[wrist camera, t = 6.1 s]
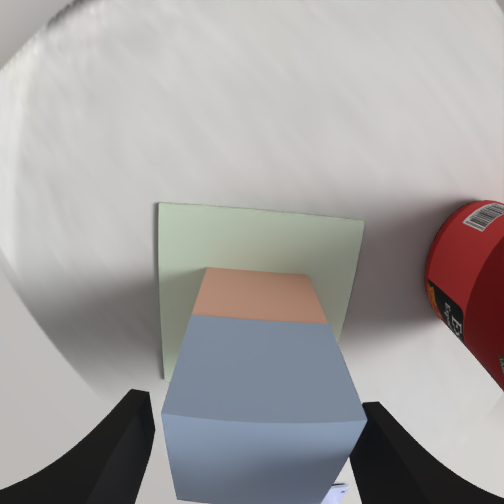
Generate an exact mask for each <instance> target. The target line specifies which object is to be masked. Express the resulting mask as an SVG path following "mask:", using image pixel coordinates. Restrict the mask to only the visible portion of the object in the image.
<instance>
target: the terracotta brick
mask: <svg viewBox="0 0 504 504" xmlns="http://www.w3.org/2000/svg"><path fill="white" fill-rule="evenodd" d="M192 315H202V316H212V317H224V318H236V319H249V320H263V321H279V322H297V323H320V324H328V322H327V319H326V317H325V314H324V312H323V309H322V307H321V305H320V302H319V300H318V298H317V295H316V293H315V291H314V288H313V286H312V283H311V281H310V279H309V276H308V275H302V274H288V273H275V272H262V271H250V270H238V269H226V268H214V267H207V269H206V272H205V275H204V278H203V281H202V284H201V287H200V291H199V294H198V297H197V300H196V303H195V306H194V309H193V312H192Z"/></svg>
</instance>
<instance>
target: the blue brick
mask: <svg viewBox="0 0 504 504" xmlns="http://www.w3.org/2000/svg"><path fill="white" fill-rule="evenodd" d="M161 416H162V422H163V429H164V435H165V441H166V447H167V452H168V458H169V463H170V468H171V473H172V478H173V482H174V488H175V492H176V496H177V500H184V501H193V502H201V503H210V504H321V503H322V501H323V499H324V498H325V496H326V495H327V493H328V491H329V490H330V488H331V487H332V485H333V483H334V482H335V480H336V478H337V477H338V475H339V473H340V471H341V470H342V468H343V466H344V464H345V463H346V461H347V459H348V457H349V455H350V453H351V452H352V450H353V448H354V446H355V444H356V442H357V440H358V438H359V436H360V434H361V432H362V430H363V428H364V426H365V424H366V422H367V417H366V415H365V412H364V409H363V407H362V404H361V401H360V399H359V396H358V394H357V391H356V389H355V386H354V383H353V381H352V378H351V376H350V373H349V371H348V368H347V366H346V363H345V361H344V358H343V356H342V353H341V351H340V348H339V346H338V343H337V341H336V339H335V336H334V334H333V331H332V329H331V326H330V324H320V323H297V322H279V321H263V320H249V319H236V318H224V317H212V316H202V315H192V314H191V317H190V320H189V323H188V326H187V329H186V332H185V336H184V339H183V342H182V345H181V348H180V352H179V355H178V358H177V361H176V365H175V368H174V371H173V374H172V378H171V381H170V384H169V388H168V391H167V395H166V398H165V401H164V405H163V408H162V412H161Z"/></svg>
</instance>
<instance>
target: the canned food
mask: <svg viewBox="0 0 504 504" xmlns="http://www.w3.org/2000/svg"><path fill="white" fill-rule="evenodd" d="M425 287H426V292H427V295H428V298H429V301H430V303H431V306H432V308H433V310H434V311H435V313H436V314H437V316H438V317H439V318H440V319H441V320H442V321H443V322H444V323H445V324H446V325H447V326H448V327H449V329H450V330H451V331H452V332H453V333H454V334H455V335H456V336H457V337H458V338H459V340H460V341H461V342H462V343H463V344H464V345H465V346H466V347H467V348H468V350H469V351H470V352H471V353H472V354H473V355H474V356H475V358H476V359H477V360H478V361H479V362H480V363H481V365H482V366H483V367H484V368H485V369H486V371H487V372H488V373H489V374H490V375H491V377H492V378H493V379H494V380H495V381H496V383H497V384H498V385H499V386H500V388H501V389H502V390H503V391H504V204H503V203H500V202H496V201H490V200H485V201H478V202H473V203H469V204H467V205H465V206H463V207H461V208H460V209H458V210H457V211H456V212H455V213H453V214H452V215H451V216H450V217H449V218H448V220H447V221H446V222H445V223H444V224H443V226H442V227H441V229H440V230H439V232H438V233H437V235H436V237H435V239H434V241H433V243H432V245H431V248H430V251H429V254H428V257H427V262H426V267H425Z"/></svg>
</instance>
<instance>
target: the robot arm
mask: <svg viewBox="0 0 504 504" xmlns="http://www.w3.org/2000/svg"><path fill="white" fill-rule="evenodd" d="M362 407H363V409H364V412H365V415H366V417H367V422H366V424H365V426H364V428H363V430H362V432H361V434H360V436H359V438H358V440H357V442H356V444H355V446H354V448H353V450H352V452H351V453H350V455H349V457H350V463H351V466H352V470H353V473H354V477H355V480H356V484H357V487H358V491H359V494H360V498H361V501H362V504H504V498H502V497H499V496H497V495H494V494H492V493H489V492H487V491H485V490H483V489H481V488H479V487H477V486H475V485H473V484H472V483H470V482H468V481H466V480H464V479H463V478H461V477H460V476H458V475H457V474H455V473H454V472H453V471H451V470H450V469H448V468H447V467H446V466H444V465H443V464H442V463H440V462H439V461H438V460H437V459H436V458H434V457H433V456H432V455H431V454H430V453H429V452H428V451H426V450H425V449H424V448H423V447H422V446H421V445H420V444H419V443H418V442H417V441H416V440H415V439H414V438H413V437H412V436H411V435H410V434H409V433H408V432H407V431H406V430H405V429H404V428H403V427H402V426H401V425H400V424H399V423H398V422H397V421H396V419H395V418H394V417H393V416H392V415H391V414H390V413H389V412H388V411H387V410H386V409H385V408H384V407H383V406H382V405H381V404H380V402H379V401H378V402H365V403H363V404H362ZM154 434H155V425H154V419H153V413H152V407H151V401H150V395H149V392H146V391H141V390H135V389H131V390H130V391H129V392H128V393H127V394H126V395H125V396H124V397H123V399H122V400H121V401H120V402H119V403H118V404H117V405H116V406H115V408H114V409H113V410H112V411H111V412H110V413H109V414H108V415H107V416H106V417H105V418H104V419H103V420H102V421H101V422H100V423H99V424H98V425H97V426H96V427H95V428H94V429H93V430H92V431H91V432H90V433H89V434H88V435H87V436H86V437H85V438H83V439H82V440H81V441H80V442H79V443H78V444H77V445H76V446H74V447H73V448H72V449H71V450H69V451H68V452H67V453H66V454H64V455H63V456H62V457H60V458H59V459H58V460H56V461H55V462H53V463H52V464H50V465H49V466H47V467H45V468H44V469H42V470H41V471H39V472H37V473H36V474H34V475H32V476H30V477H28V478H27V479H24V480H22V481H20V482H18V483H16V484H13V485H11V486H9V487H7V488H4V489H1V490H0V504H135V501H136V498H137V495H138V492H139V488H140V485H141V482H142V479H143V476H144V473H145V470H146V467H147V464H148V460H149V457H150V454H151V450H152V445H153V439H154ZM348 489H349V486H348V485H336V486H332V487H331V488H330V490H329V491H328V493H327V495H326V496H325V498H324V499H323V501H322V503H321V504H338V503H339V502H340V501H341V499H342V498H343V496H344V495H345V494H346V492H347V491H348Z"/></svg>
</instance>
